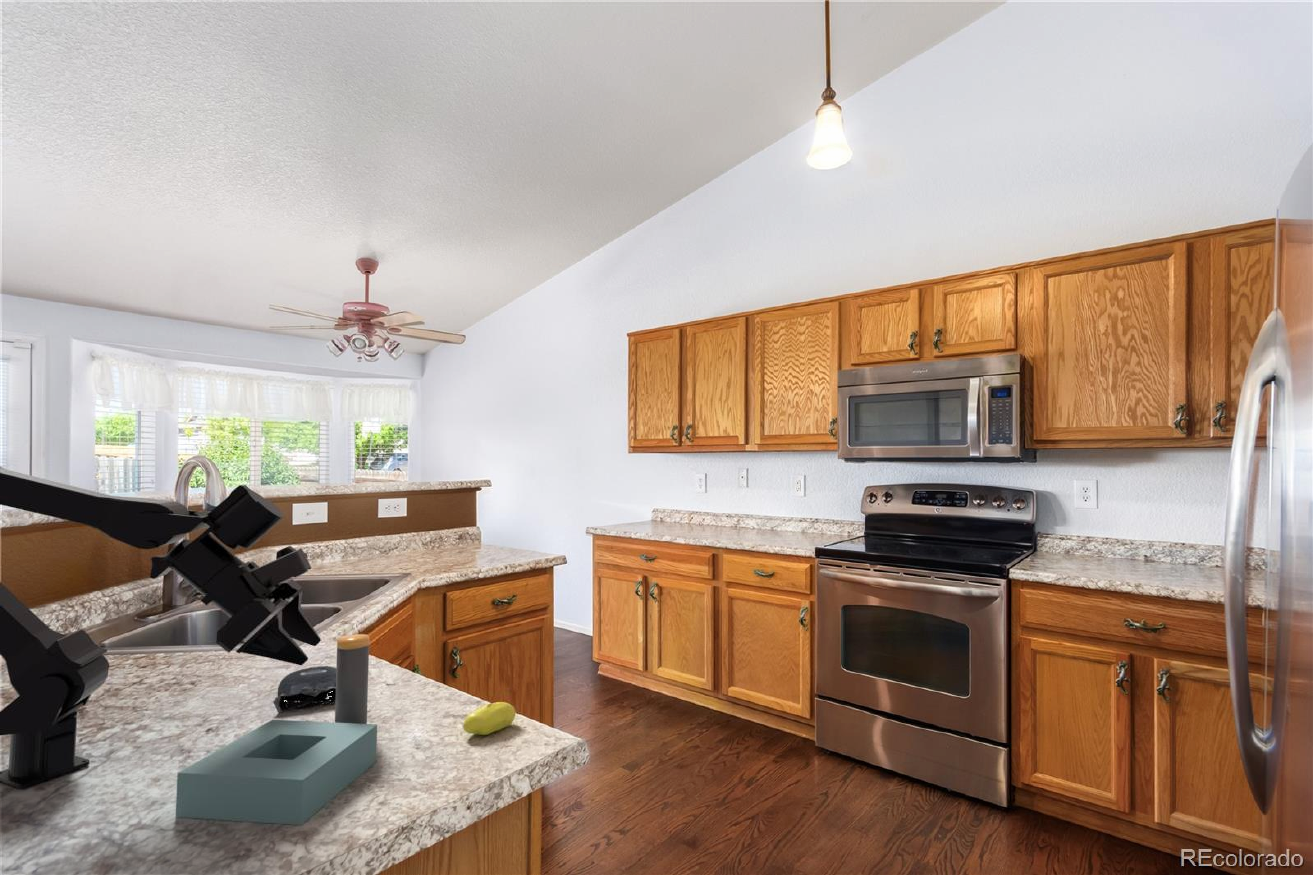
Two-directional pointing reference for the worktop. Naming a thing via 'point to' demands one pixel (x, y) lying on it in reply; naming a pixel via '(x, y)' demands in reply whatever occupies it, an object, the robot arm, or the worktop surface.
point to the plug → (352, 679)
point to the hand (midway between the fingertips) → (312, 652)
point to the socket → (277, 772)
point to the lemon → (489, 718)
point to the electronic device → (306, 686)
